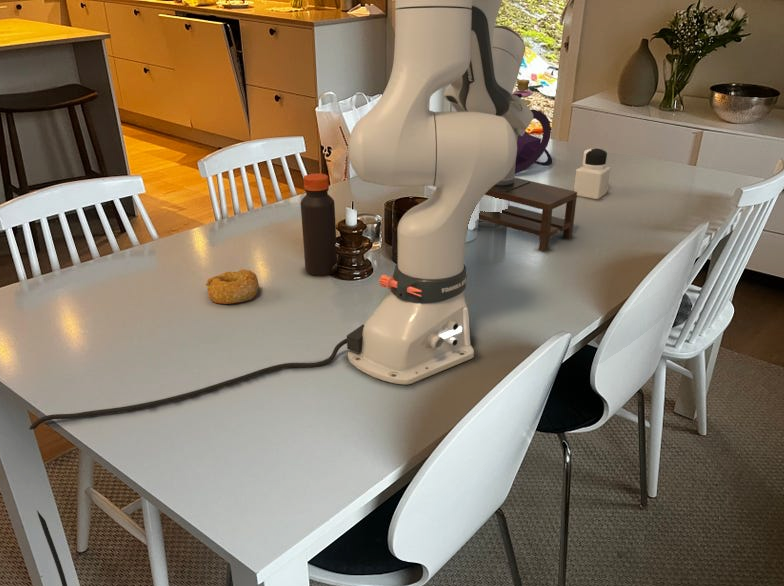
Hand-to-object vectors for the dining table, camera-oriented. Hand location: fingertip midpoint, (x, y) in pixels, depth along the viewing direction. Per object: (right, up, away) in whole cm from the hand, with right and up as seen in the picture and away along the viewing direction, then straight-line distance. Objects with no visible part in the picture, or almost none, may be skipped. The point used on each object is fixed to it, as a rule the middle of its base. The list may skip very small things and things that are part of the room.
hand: (505, 129), depth 169 cm
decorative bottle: (+10, +6, +57) cm, 58 cm away
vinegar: (-40, -34, -12) cm, 54 cm away
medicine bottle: (+27, -7, +34) cm, 44 cm away
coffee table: (+4, -22, +8) cm, 24 cm away
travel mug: (0, -11, +6) cm, 12 cm away
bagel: (-56, -40, -23) cm, 73 cm away
